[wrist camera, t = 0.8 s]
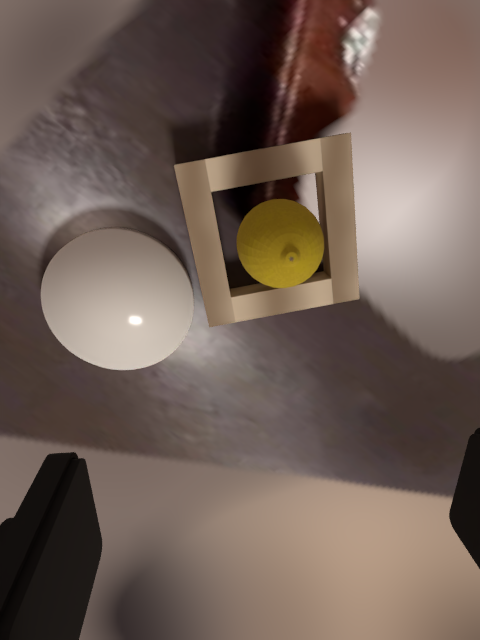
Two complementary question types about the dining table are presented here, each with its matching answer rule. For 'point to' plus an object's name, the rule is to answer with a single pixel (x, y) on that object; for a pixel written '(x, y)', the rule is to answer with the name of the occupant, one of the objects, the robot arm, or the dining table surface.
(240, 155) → the frame
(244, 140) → the dining table surface
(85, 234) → the saucer
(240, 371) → the dining table surface
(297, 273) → the lemon
